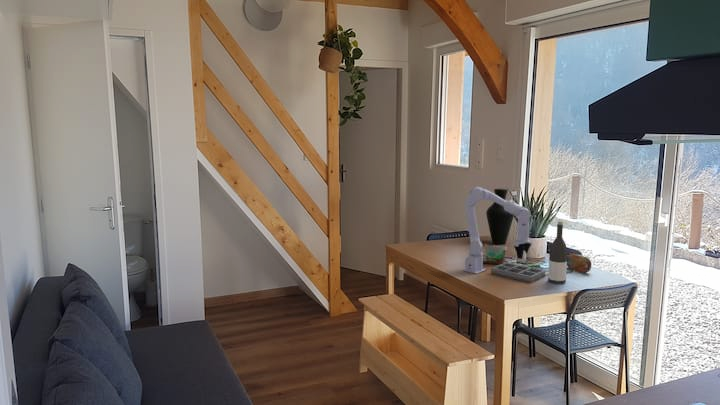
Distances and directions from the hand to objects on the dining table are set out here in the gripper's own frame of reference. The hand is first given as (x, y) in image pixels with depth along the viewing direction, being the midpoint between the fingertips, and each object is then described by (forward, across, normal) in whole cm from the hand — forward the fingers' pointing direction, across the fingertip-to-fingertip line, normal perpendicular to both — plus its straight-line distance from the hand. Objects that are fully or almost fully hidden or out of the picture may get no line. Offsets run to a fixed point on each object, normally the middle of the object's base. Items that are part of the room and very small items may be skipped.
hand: (521, 257), depth 261 cm
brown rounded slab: (+9, +26, -19) cm, 33 cm away
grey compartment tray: (+8, -4, 0) cm, 9 cm away
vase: (+9, +52, +42) cm, 67 cm away
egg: (+2, 0, 0) cm, 2 cm away
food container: (+9, +8, +20) cm, 23 cm away
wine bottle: (+9, 0, -19) cm, 21 cm away
